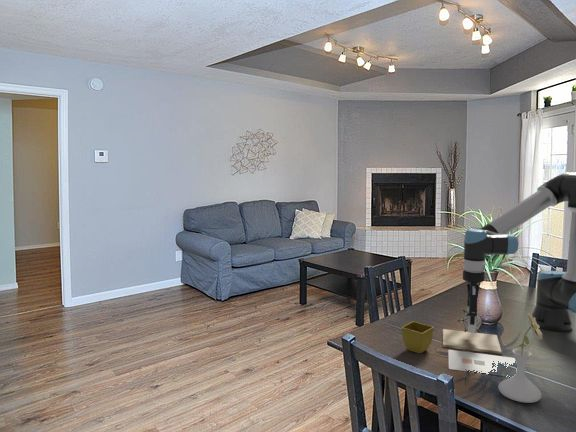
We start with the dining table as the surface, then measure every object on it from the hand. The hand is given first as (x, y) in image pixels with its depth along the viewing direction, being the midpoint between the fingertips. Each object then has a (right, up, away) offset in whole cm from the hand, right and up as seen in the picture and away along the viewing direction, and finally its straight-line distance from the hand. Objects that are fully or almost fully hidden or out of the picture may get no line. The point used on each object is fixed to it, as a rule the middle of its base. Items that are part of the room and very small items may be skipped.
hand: (470, 327), depth 169 cm
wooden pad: (0, -6, +1) cm, 6 cm away
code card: (-3, -8, -17) cm, 19 cm away
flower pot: (-22, -7, -6) cm, 24 cm away
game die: (0, -2, 0) cm, 2 cm away
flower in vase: (-1, -11, -38) cm, 39 cm away
